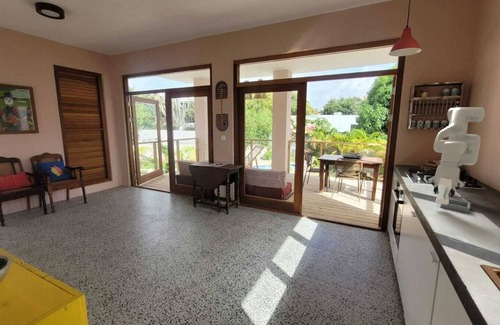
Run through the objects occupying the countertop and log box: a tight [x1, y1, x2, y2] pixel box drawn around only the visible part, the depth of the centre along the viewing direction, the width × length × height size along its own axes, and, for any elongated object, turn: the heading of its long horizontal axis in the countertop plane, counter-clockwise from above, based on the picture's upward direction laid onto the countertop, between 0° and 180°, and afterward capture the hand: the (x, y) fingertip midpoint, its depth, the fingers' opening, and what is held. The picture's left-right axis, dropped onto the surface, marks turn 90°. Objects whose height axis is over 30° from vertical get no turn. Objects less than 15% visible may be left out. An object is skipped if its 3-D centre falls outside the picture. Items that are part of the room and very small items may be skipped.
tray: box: [439, 198, 471, 214], centre depth 139 cm, size 13×12×3 cm
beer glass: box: [435, 178, 453, 205], centre depth 133 cm, size 7×7×15 cm
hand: (443, 194), depth 133 cm, fingers closed on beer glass, 6 cm apart
